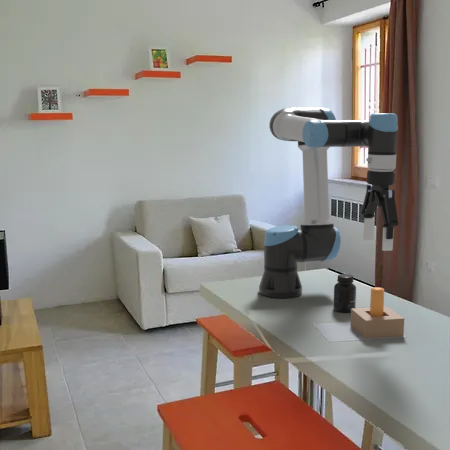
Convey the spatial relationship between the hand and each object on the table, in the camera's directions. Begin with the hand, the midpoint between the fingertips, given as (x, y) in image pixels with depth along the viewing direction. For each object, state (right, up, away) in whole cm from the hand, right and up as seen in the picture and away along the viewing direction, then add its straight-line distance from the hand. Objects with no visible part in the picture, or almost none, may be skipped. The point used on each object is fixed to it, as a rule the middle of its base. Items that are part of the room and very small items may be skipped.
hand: (377, 245), depth 167 cm
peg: (-1, -24, -1) cm, 24 cm away
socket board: (-6, -25, -1) cm, 26 cm away
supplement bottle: (-6, -22, +18) cm, 29 cm away
